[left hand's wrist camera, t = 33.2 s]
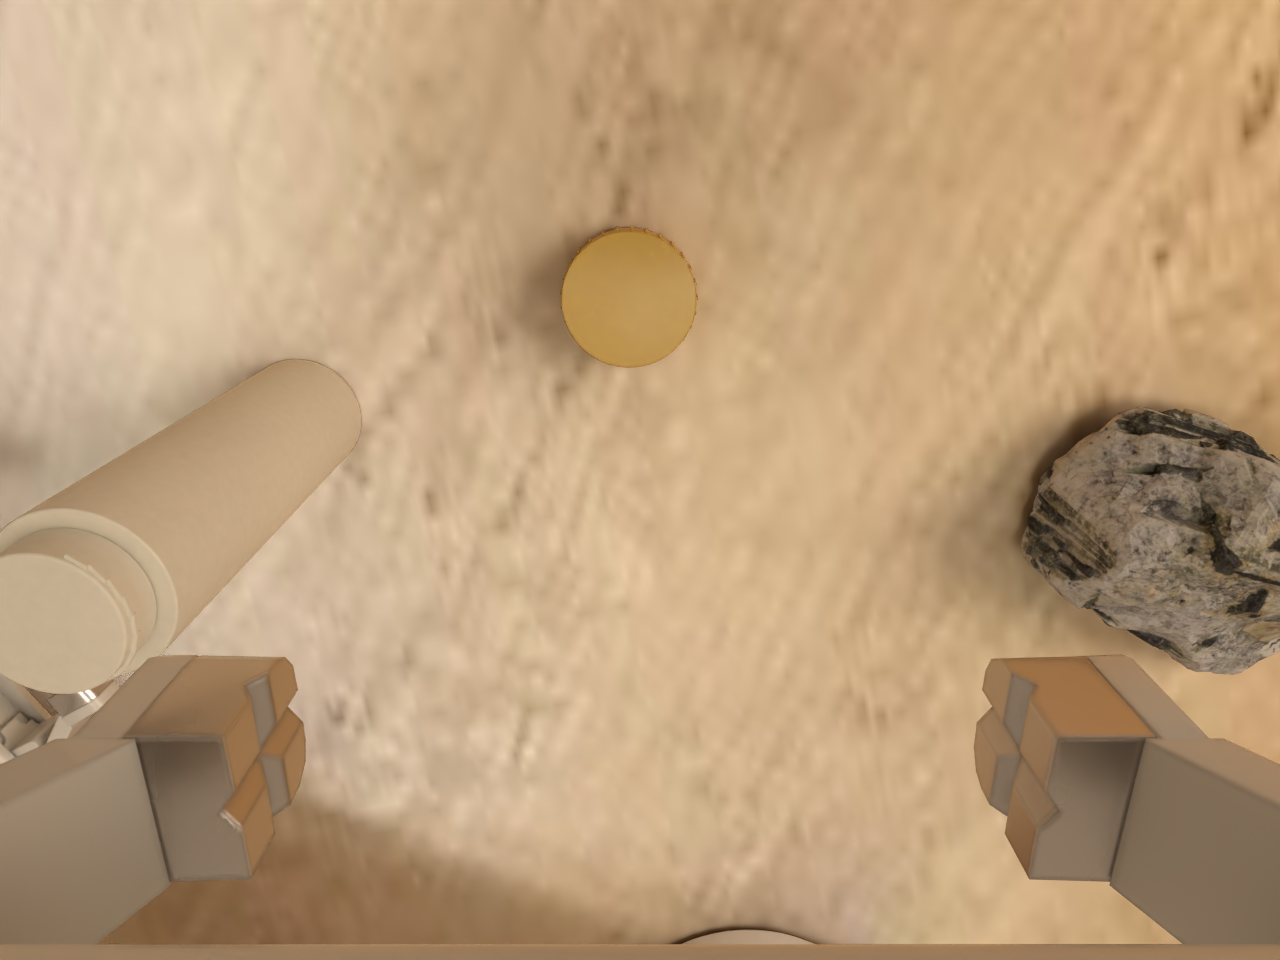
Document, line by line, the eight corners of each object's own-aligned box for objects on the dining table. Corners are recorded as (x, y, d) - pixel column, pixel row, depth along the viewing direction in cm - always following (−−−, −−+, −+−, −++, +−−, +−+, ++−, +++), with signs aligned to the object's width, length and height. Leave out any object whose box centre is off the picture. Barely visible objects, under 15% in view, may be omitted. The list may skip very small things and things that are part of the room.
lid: (563, 222, 38) (560, 226, 36) (700, 228, 38) (702, 232, 36) (562, 356, 40) (558, 366, 38) (691, 361, 40) (693, 372, 38)
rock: (982, 536, 43) (1048, 612, 36) (1129, 358, 39) (1231, 405, 33) (1204, 669, 46) (1303, 761, 39) (1357, 513, 42) (1492, 586, 36)
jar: (331, 488, 42) (104, 743, 24) (228, 431, 41) (-89, 653, 23) (381, 398, 40) (178, 599, 23) (275, 336, 39) (-25, 496, 22)
